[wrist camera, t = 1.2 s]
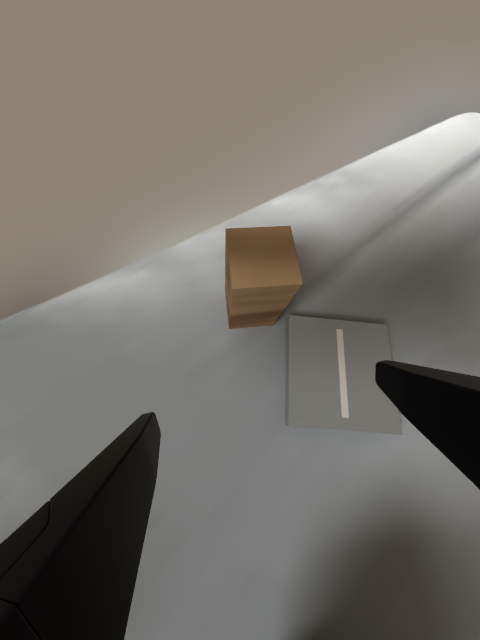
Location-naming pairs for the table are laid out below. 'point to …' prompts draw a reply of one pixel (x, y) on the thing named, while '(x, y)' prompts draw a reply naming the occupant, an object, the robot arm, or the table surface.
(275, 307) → the walnut block
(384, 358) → the coaster
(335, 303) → the table surface
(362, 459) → the table surface
